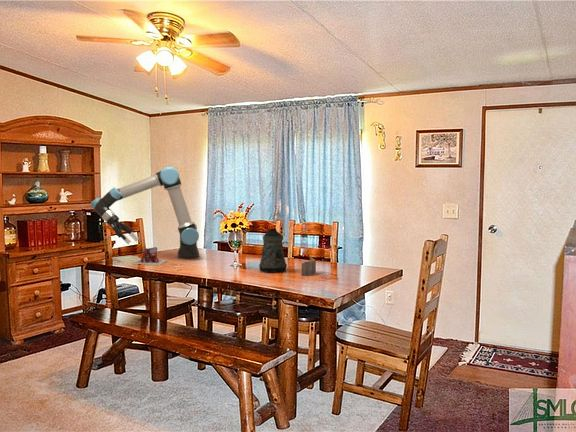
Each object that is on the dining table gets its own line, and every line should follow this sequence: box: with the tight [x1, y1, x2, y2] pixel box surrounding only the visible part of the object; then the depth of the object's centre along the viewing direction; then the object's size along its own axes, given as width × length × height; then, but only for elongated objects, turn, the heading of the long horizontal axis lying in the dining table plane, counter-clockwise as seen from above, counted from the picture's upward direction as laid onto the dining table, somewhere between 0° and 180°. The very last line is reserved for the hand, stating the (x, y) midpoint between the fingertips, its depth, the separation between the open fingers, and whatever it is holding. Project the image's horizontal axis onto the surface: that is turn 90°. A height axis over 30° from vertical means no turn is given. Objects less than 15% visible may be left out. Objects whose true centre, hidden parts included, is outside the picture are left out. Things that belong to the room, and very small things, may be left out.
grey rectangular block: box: [301, 256, 317, 277], centre depth 293 cm, size 11×3×10 cm, turn 145°
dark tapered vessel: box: [258, 228, 288, 274], centre depth 304 cm, size 16×19×25 cm
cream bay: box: [111, 255, 142, 264], centre depth 341 cm, size 18×13×2 cm
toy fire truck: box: [140, 246, 160, 263], centre depth 327 cm, size 7×12×10 cm, turn 148°
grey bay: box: [131, 259, 167, 266], centre depth 327 cm, size 18×13×2 cm
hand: (133, 241), depth 327 cm, fingers open, 13 cm apart
